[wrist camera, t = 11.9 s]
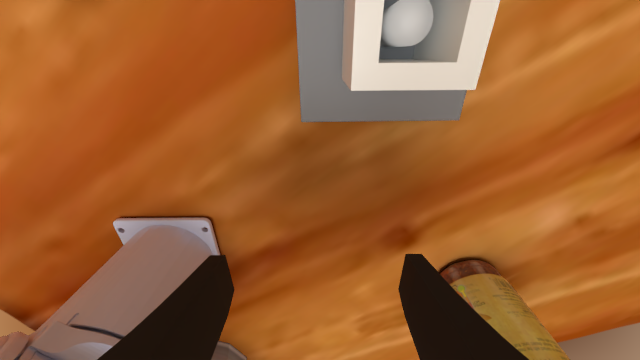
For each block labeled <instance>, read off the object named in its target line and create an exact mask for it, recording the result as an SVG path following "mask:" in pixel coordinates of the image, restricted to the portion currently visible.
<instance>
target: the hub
mask: <svg viewBox="0 0 640 360" xmlns="http://www.w3.org/2000/svg"><path fill="white" fill-rule="evenodd" d="M429 2H430V3H431V5H432V8H433V23H432V26H431V29H430V31H429V33H428V34H427V36H426V37H425V38H424V39H423V40H422V41H421V42H419V43H417V44H415V49H414V56H413V59H379V51H380V41H381V30H382V20H383V9H384V0H344V23H343V54H342V80H343V81H344V82H345V84H346V85H347V86H348V87H349V89H350V90H351V91H381V90H475V89H476V85H477V82H478V78H479V75H480V71H481V67H482V64H483V60H484V57H485V53H486V49H487V46H488V42H489V39H490V35H491V31H492V28H493V24H494V21H495V17H496V13H497V10H498V6H499V3H500V0H429Z"/></svg>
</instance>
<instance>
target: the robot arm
mask: <svg viewBox="0 0 640 360" xmlns="http://www.w3.org/2000/svg"><path fill="white" fill-rule="evenodd" d="M113 226H114V228H115V230H116V232H117V233H118V235H119V237H120V239H121V241H122V243H123V246H122V247H121V248H120V249H119V250H118V251H117V252H116V253H115V254H114V255H113V256H112V257H111V258H110V259H109V260H108V261H107V262H106V263H105V264H104V265H103V266H102V267H101V268H100V269H99V270H98V271H97V272H96V273H95V274H94V275H93V276H92V277H91V278H90V279H89V280H88V281H87V282H86V283H85V284H84V285H83V286H82V287H81V288H80V289H79V290H78V291H76V292H75V293H74V294H73V295H72V296H71V297H70V298H69V299H68V300H67V301H66V302H65V303H64V304H63V305H62V306H61V307H60V308H59V309H58V310H57V311H56V312H55V313H54V314H53V315H52V316H51V317H50V318H49V319H48V320H47V321H46V322H45V323H44V324H43V325H42V326H41V327H40V328H39V329H38V330H37V331H36V332H34V333H32V334H31V335H29V336H28V335H26V334H23V333H22V332H14V333H11V334H9V335H7V336H2V337H0V360H211V359H212V356H213V354H214V351H215V348H216V346H217V343H218V340H219V338H220V335H221V332H222V330H223V327H224V324H225V322H226V319H227V316H228V313H229V309H230V305H231V301H232V297H233V293H234V287H233V283H232V279H231V275H230V272H229V268H228V264H227V260H226V257H225V255H220V252H219V249H218V245H217V241H216V238H215V234H214V231H213V227H212V224H211V221H210V220H209V219H207V218H118V219H116V220H115V221H114V222H113ZM204 227H205V228H207V229H205V228H204ZM399 293H400V298H401V302H402V306H403V310H404V314H405V318H406V321H407V324H408V327H409V329H410V332H411V335H412V338H413V341H414V344H415V347H416V349H417V352H418V355H419V358H420V360H529V359H528V358H527V357H526V356H524V355H523V354H522V353H521V352H520V351H519V350H517V349H516V348H515V347H514V346H513V345H511V344H510V343H509V342H508V341H507V340H506V339H505V338H504V337H503V336H501V335H500V334H499V333H498V332H497V331H496V330H495V329H494V328H493V327H492V326H491V325H490V324H489V323H487V322H486V321H485V320H484V319H483V318H482V317H481V316H480V315H479V314H478V313H477V312H476V311H475V310H474V309H473V308H472V307H471V306H470V305H469V304H468V303H467V302H466V301H465V300H464V299H463V298H462V297H461V296H460V295H459V294H458V293H457V292H456V291H455V290H454V289H453V288H452V287H451V285H450V284H449V283H448V282H447V281H446V280H445V279H444V278H443V277H442V276H441V275H440V274H439V273H438V271H437V270H436V269H435V268H434V267H433V266H432V265H431V264H430V263H429V262H428V261H427V260H426V258H425V257H424V256H423V255H422V254H406V255H405V260H404V265H403V270H402V275H401V279H400V284H399Z"/></svg>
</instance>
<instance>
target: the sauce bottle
mask: <svg viewBox="0 0 640 360" xmlns="http://www.w3.org/2000/svg"><path fill="white" fill-rule="evenodd" d="M440 275H441V276H442V277H443V278H444V279H445V280H446V281H447V282H448V283H449V284H450V285H451V287H452V288H453V289H454V290H455V291H456V292H457V293H458V294H459V295H460V296H461V297H462V298H463V299H464V300H465V301H466V302H467V303H468V304H469V305H470V306H471V307H472V308H473V309H474V310H475V311H476V312H477V313H478V314H479V315H480V316H481V317H482V318H483V319H484V320H485V321H486V322H487V323H489V324H490V325H491V326H492V327H493V328H494V329H495V330H496V331H497V332H498V333H499V334H500V335H501V336H503V337H504V338H505V339H506V340H507V341H508V342H509V343H510V344H511V345H513V346H514V347H515V348H516V349H517V350H519V351H520V352H521V353H522V354H523V355H524V356H526V357H527V358H528V359H529V360H570V359H569V358H568V356H567V355H566V354H565V352H564V351H563V350H562V349H561V347H560V346H559V345H558V344H557V342H556V341H555V340H554V339H553V337H552V336H551V335H550V334H549V332H548V331H547V330H546V329H545V327H544V326H543V325H542V323H541V322H540V321H539V320H538V318H537V317H536V316H535V314H534V313H533V312H532V311H531V309H530V308H529V307H528V306H527V304H526V303H525V302H524V301H523V300H522V298H521V297H520V296H519V295H518V293H517V292H516V291H515V290H514V288H513V287H512V286H511V285H510V283H509V282H508V281H507V280H506V279H505V278H503V277H502V276H501V275H500V274H499V273H498V271H497V270H496V269H495V268H494V267H493V266H491V265H490V264H488V263H487V262H484V261H479V260H467V261H463V262H458V263H455V264H452V265H450V266H449V267H448V268H446V269H445V270H444V271H442V272H441V273H440Z"/></svg>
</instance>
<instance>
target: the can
mask: <svg viewBox="0 0 640 360" xmlns="http://www.w3.org/2000/svg"><path fill="white" fill-rule="evenodd" d="M211 360H247V357H246V356H244V355H243V354H242V353H241V352H239V351H238V350H237V349H236V348H234V347H233V346H232V345H230V344H229V343H225V342H221V341H218V343H217V346H216V348H215V351H214V354H213V356H212V359H211Z"/></svg>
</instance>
